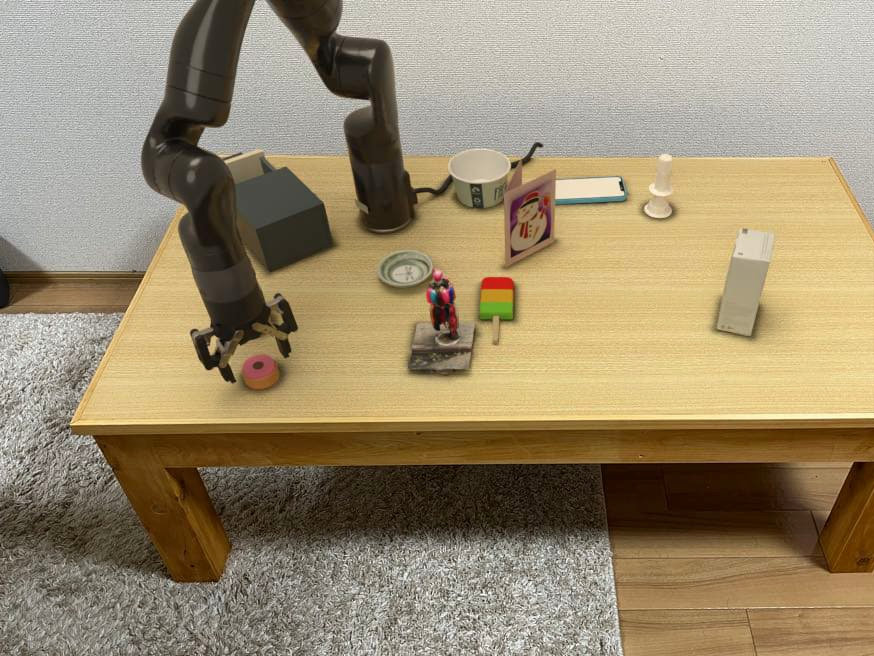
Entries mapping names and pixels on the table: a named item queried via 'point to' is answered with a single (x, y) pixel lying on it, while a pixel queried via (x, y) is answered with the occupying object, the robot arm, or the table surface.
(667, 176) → the candle
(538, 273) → the table surface
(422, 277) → the saucer
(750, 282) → the cosmetic box
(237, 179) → the drawer
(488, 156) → the food container
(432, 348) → the statue
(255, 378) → the donut
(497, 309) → the popsicle
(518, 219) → the greeting card
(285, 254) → the cabinet
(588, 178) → the smartphone
